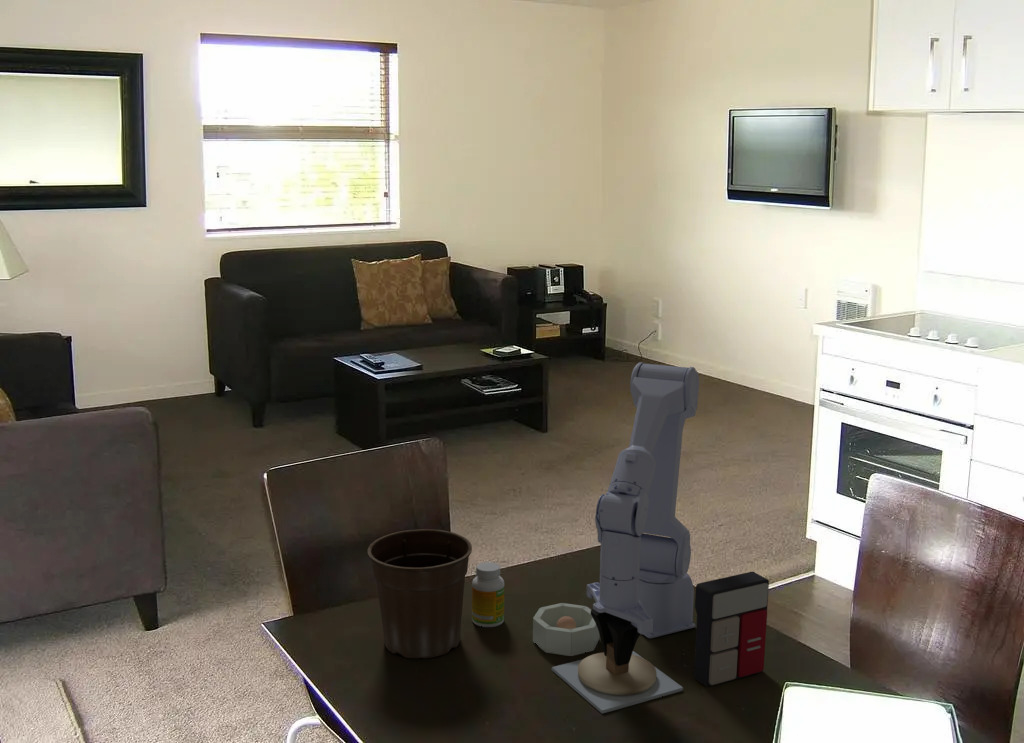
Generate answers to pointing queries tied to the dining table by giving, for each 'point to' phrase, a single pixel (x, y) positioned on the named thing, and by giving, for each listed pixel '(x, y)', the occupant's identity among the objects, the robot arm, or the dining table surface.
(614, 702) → the mat
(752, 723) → the dining table surface
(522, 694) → the dining table surface
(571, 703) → the dining table surface
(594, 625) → the bowl
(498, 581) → the supplement bottle
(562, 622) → the ball
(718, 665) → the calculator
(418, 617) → the plant pot
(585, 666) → the lid
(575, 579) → the dining table surface
